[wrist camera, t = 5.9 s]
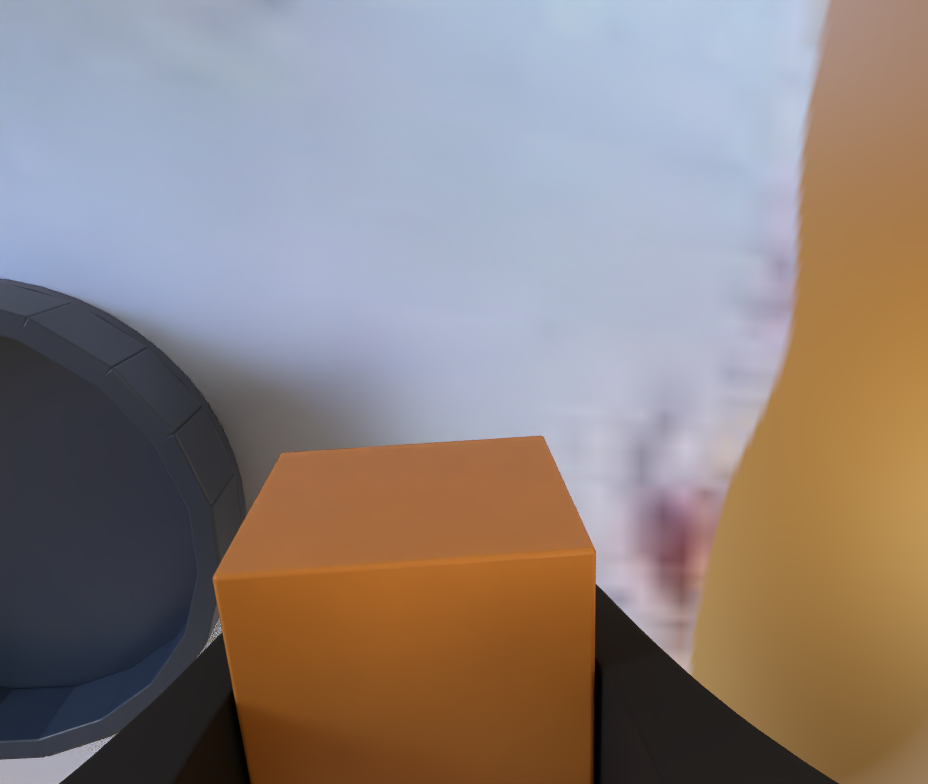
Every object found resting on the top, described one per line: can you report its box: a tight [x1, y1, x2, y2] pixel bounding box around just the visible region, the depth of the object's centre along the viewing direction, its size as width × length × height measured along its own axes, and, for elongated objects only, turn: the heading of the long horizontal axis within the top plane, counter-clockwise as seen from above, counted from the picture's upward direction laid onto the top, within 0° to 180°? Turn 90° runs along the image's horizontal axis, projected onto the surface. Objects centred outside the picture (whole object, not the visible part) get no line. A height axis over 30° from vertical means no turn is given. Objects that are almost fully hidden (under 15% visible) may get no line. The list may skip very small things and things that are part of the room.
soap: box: [213, 436, 596, 784], centre depth 9 cm, size 6×4×3 cm, turn 3°
